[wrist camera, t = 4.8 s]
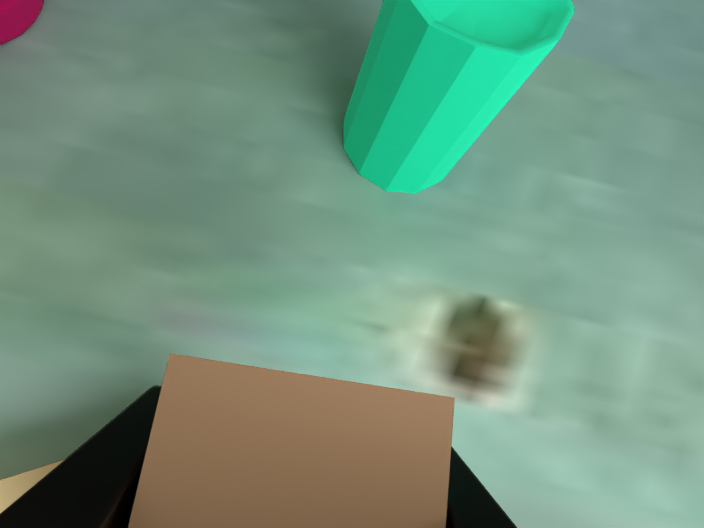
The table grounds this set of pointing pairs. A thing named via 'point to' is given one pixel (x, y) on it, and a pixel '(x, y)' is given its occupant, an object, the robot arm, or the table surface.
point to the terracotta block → (291, 452)
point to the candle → (441, 82)
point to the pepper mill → (17, 17)
